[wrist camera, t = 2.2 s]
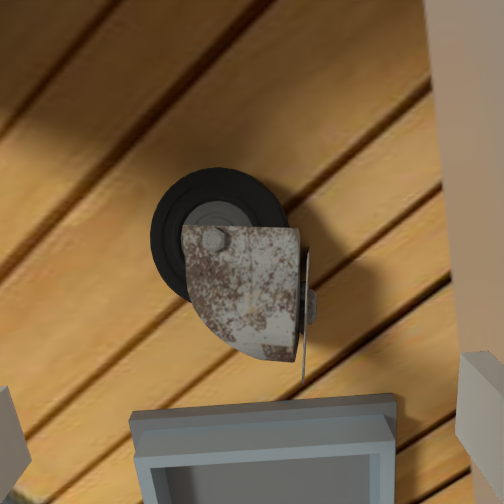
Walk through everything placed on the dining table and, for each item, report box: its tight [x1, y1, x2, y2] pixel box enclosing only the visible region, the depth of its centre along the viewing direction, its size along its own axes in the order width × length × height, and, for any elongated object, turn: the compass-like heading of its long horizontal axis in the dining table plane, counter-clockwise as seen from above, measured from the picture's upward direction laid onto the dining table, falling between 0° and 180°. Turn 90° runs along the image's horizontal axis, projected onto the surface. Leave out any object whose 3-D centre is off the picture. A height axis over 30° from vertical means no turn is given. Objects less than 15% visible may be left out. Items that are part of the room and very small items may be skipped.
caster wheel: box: [150, 167, 317, 382], centre depth 22 cm, size 7×11×10 cm
